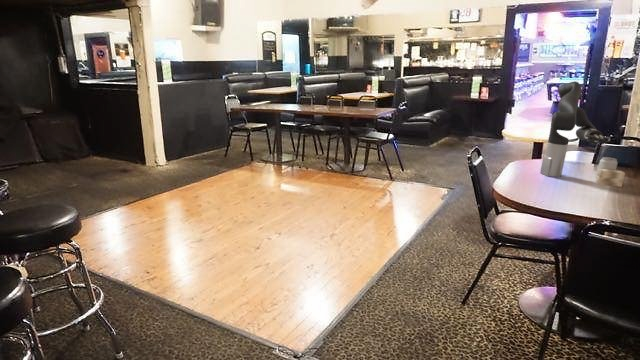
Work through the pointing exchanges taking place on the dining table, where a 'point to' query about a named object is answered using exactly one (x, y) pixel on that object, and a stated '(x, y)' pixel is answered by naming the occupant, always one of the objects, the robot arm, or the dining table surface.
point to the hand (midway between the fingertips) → (602, 141)
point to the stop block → (610, 177)
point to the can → (607, 164)
